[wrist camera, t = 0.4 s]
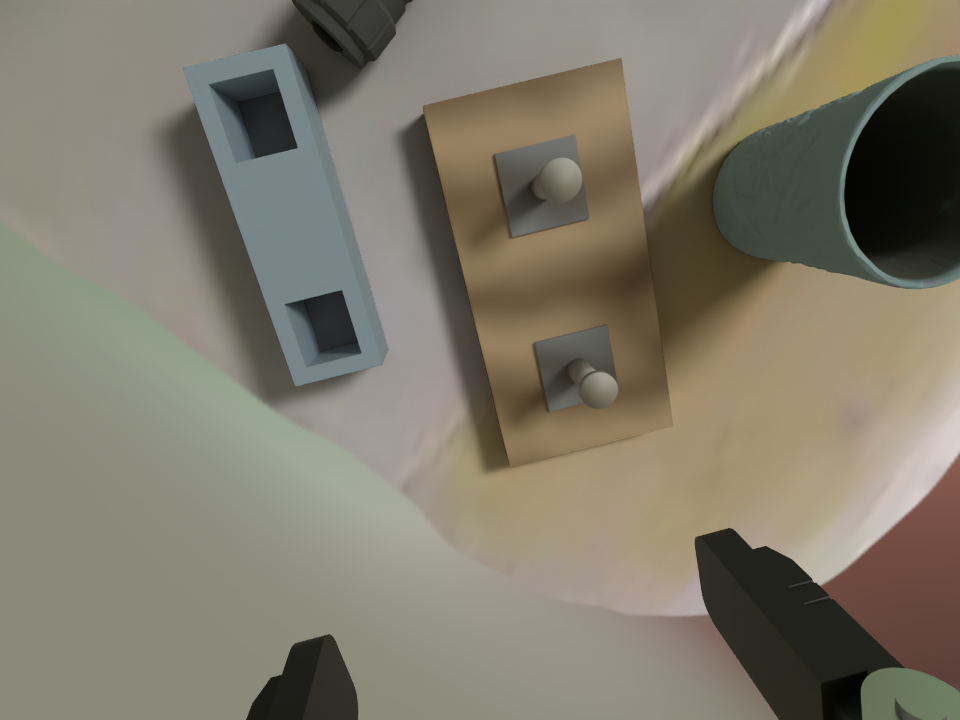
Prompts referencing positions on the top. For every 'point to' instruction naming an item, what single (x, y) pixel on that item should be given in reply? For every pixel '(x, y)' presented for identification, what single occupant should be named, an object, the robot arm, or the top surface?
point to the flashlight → (354, 25)
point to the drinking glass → (856, 183)
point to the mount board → (555, 258)
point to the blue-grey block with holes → (289, 209)
